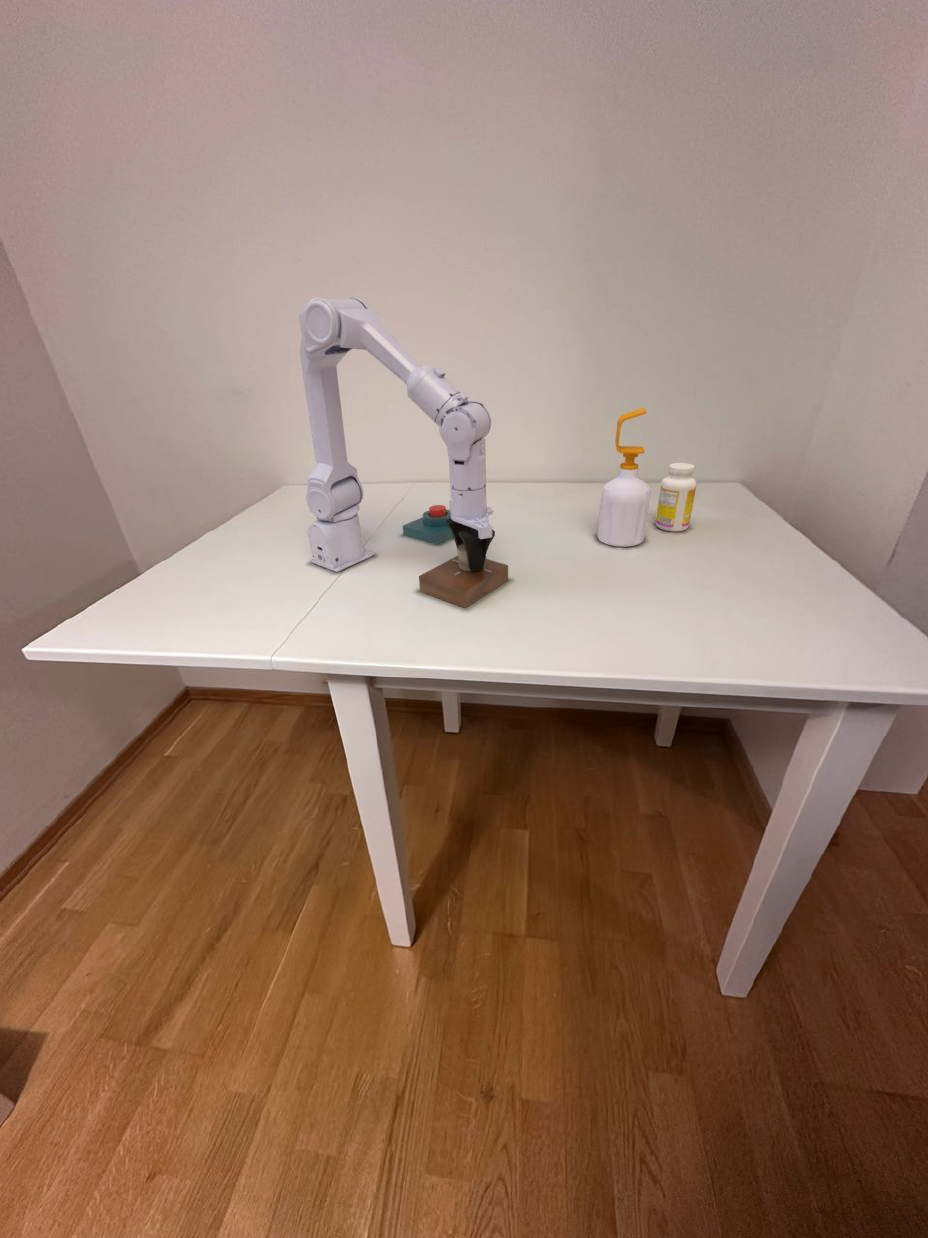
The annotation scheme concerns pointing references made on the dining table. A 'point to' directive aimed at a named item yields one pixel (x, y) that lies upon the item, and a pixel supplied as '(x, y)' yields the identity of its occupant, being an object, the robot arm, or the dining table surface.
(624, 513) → the soap bottle
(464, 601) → the knob panel
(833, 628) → the dining table surface
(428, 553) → the dining table surface
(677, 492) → the supplement bottle
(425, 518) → the button console
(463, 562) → the knob
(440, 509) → the button
